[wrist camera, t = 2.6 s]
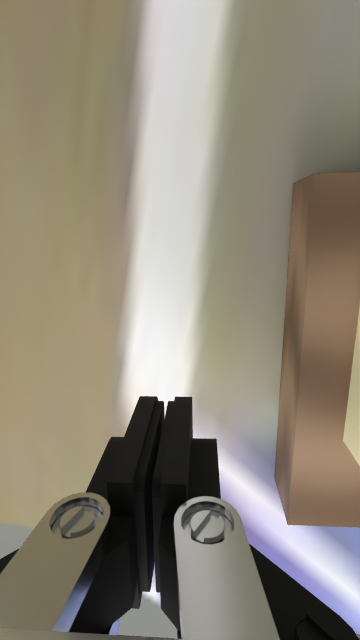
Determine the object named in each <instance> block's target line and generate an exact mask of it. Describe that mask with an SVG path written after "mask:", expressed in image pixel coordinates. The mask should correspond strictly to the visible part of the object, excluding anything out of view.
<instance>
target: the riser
mask: <svg viewBox="0 0 360 640" xmlns="http://www.w3.org/2000/svg"><path fill="white" fill-rule="evenodd" d="M359 306H360V172H344V173H315V174H313V175H311V176H309V177H307V178H305V179H302V180H300V181H298V182H296V183H294V184H293V197H292V213H291V229H290V244H289V260H288V275H287V291H286V307H285V322H284V338H283V353H282V369H281V385H280V400H279V416H278V431H277V447H276V462H275V482H276V485H277V489H278V492H279V496H280V499H281V503H282V506H283V510H284V513H285V517H286V520H287V524H288V525H308V526H336V527H360V466H359V464H358V463H357V461H356V460H355V458H354V457H353V455H352V454H351V452H350V451H349V449H348V447H347V446H346V444H345V443H344V441H343V436H344V428H345V420H346V412H347V404H348V396H349V388H350V379H351V371H352V363H353V355H354V347H355V339H356V331H357V323H358V314H359Z"/></svg>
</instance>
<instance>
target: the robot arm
mask: <svg viewBox="0 0 360 640" xmlns="http://www.w3.org/2000/svg"><path fill="white" fill-rule="evenodd" d="M154 562H155V576H156V592H160V595H161V609H162V610H163V612H164V613H165V614H166V615H167V617H168V618H169V619H170V620H171V622H172V623H173V624H174V625H175V627H176V629H177V639H174V638H158V637H141V636H124V635H117V633H118V628H119V618H120V617H121V616H122V615H124V614H125V613H126V612H127V611H128V610H130V609H131V608H135V609H136V608H137V609H139V607H140V602H141V596H142V591H143V592H150V589H151V583H152V576H153V569H154ZM0 640H360V635H359V634H356V633H355V632H354V630H353V629H352V628H351V627H350V626H349V625H348V624H347V623H346V622H345V621H344V620H343V619H342V618H341V617H340V616H339V615H338V614H336V613H335V612H334V611H333V610H331V609H330V608H329V607H328V606H326V605H325V604H324V603H323V602H321V601H320V600H319V599H318V598H316V597H315V596H314V595H313V594H311V593H310V592H309V591H308V590H306V589H305V588H304V587H303V586H301V585H300V584H299V583H298V582H296V581H295V580H294V579H293V578H291V577H290V576H289V575H288V574H286V573H285V572H284V571H283V570H281V569H280V568H279V567H278V566H276V565H275V564H274V563H273V562H271V561H270V560H269V559H268V558H266V557H265V556H264V555H263V554H261V553H260V552H259V551H258V550H256V549H255V548H254V547H253V546H251V545H250V544H249V542H248V539H247V536H246V533H245V530H244V527H243V524H242V521H241V518H240V516H239V514H238V512H237V510H236V509H235V508H234V507H233V506H232V505H231V504H229V503H227V502H226V501H224V500H222V499H221V496H220V482H219V468H218V454H217V440H216V439H194V438H193V429H192V397H175V400H174V401H168V406H167V411H166V415H165V420H164V402H163V401H158V398H157V397H149V396H140V397H139V400H138V402H137V405H136V408H135V410H134V413H133V415H132V418H131V420H130V423H129V426H128V428H127V431H126V433H125V436H124V437H111V438H110V440H109V442H108V444H107V446H106V449H105V451H104V453H103V455H102V457H101V460H100V462H99V464H98V466H97V468H96V471H95V473H94V475H93V477H92V480H91V482H90V484H89V486H88V488H87V491H86V493H78V494H73V495H70V496H68V497H65V498H63V499H61V500H60V501H58V502H57V503H55V504H54V505H53V506H52V507H51V508H50V509H49V510H48V511H47V513H46V514H45V515H44V517H43V518H42V519H41V521H40V522H39V523H38V525H37V526H36V527H35V529H34V530H33V531H32V533H31V534H30V535H29V537H28V538H27V539H26V541H25V542H24V543H23V545H22V546H21V547H20V548H19V549H17V550H16V551H14V552H12V553H11V554H9V555H7V556H5V557H3V558H2V559H0Z"/></svg>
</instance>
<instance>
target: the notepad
mask: <svg viewBox="0 0 360 640" xmlns="http://www.w3.org/2000/svg"><path fill="white" fill-rule="evenodd" d="M343 441H344V443H345V444H346V446H347V447H348V449H349V451H350V452H351V454H352V455H353V457H354V458H355V460H356V461H357V463H358V464H359V466H360V306H359V314H358V323H357V331H356V339H355V347H354V355H353V363H352V371H351V379H350V388H349V396H348V404H347V412H346V420H345V428H344V436H343Z"/></svg>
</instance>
